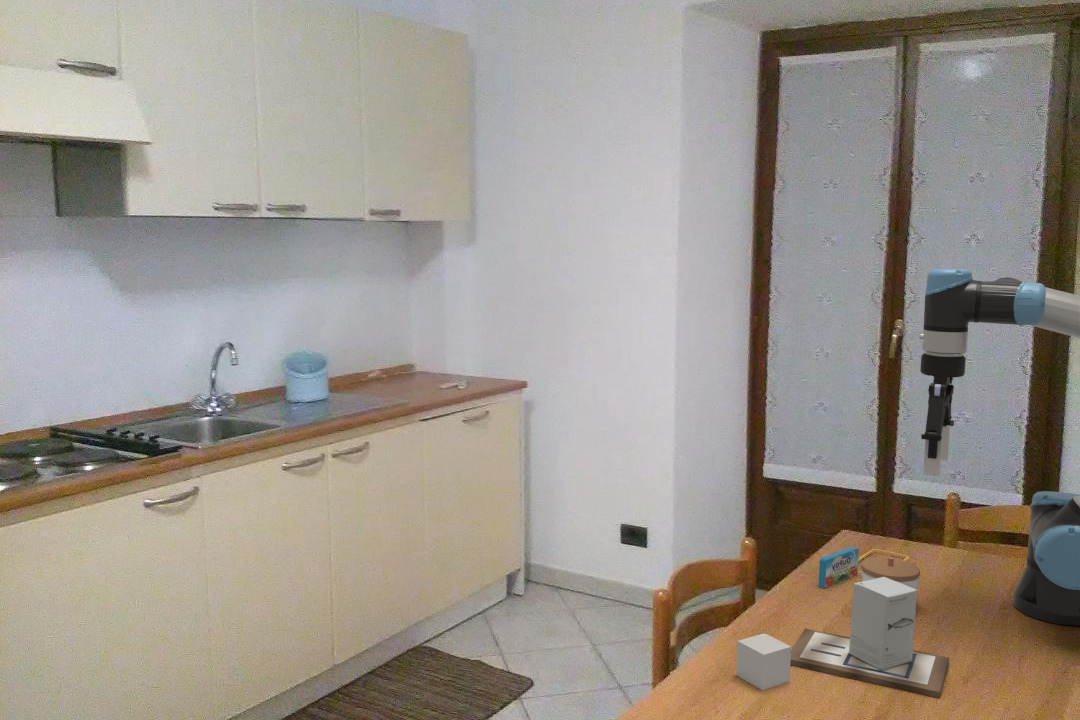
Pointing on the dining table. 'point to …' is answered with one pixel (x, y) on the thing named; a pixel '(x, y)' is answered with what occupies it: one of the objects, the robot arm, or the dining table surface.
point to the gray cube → (763, 661)
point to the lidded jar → (890, 570)
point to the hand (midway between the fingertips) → (935, 467)
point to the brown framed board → (835, 659)
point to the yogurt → (838, 567)
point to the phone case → (879, 552)
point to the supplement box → (882, 622)
